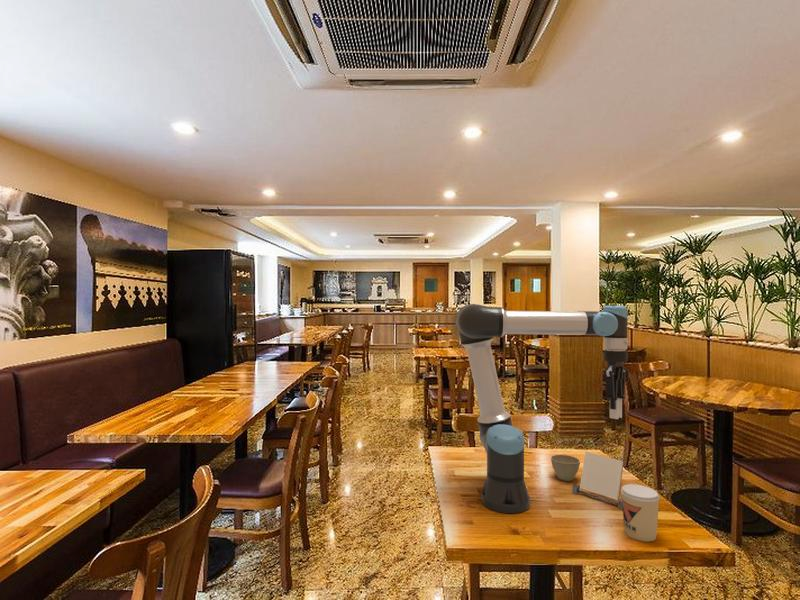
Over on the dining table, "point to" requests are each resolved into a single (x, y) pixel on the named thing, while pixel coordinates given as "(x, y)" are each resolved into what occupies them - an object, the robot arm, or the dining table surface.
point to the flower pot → (565, 466)
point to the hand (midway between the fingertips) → (615, 417)
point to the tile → (602, 475)
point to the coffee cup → (640, 511)
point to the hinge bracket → (577, 490)
